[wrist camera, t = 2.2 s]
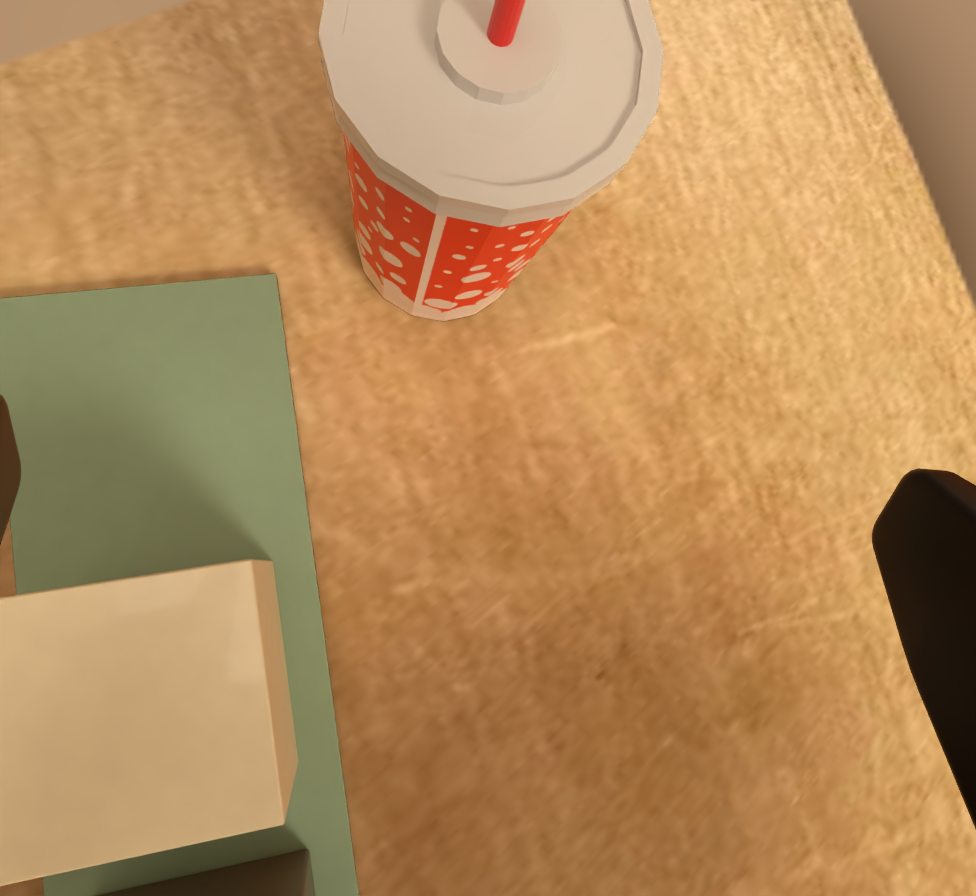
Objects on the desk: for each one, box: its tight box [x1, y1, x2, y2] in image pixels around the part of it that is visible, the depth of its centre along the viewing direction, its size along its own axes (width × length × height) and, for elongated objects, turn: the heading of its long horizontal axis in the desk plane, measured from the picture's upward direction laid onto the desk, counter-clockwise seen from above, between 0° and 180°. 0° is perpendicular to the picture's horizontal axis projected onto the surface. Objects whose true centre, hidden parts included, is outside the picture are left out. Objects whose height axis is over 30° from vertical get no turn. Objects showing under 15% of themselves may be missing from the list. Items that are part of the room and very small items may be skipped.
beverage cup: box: [318, 0, 664, 321], centre depth 16 cm, size 6×6×14 cm
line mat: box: [0, 274, 359, 896], centre depth 20 cm, size 22×7×1 cm, turn 9°
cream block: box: [0, 559, 298, 886], centre depth 18 cm, size 5×5×5 cm
